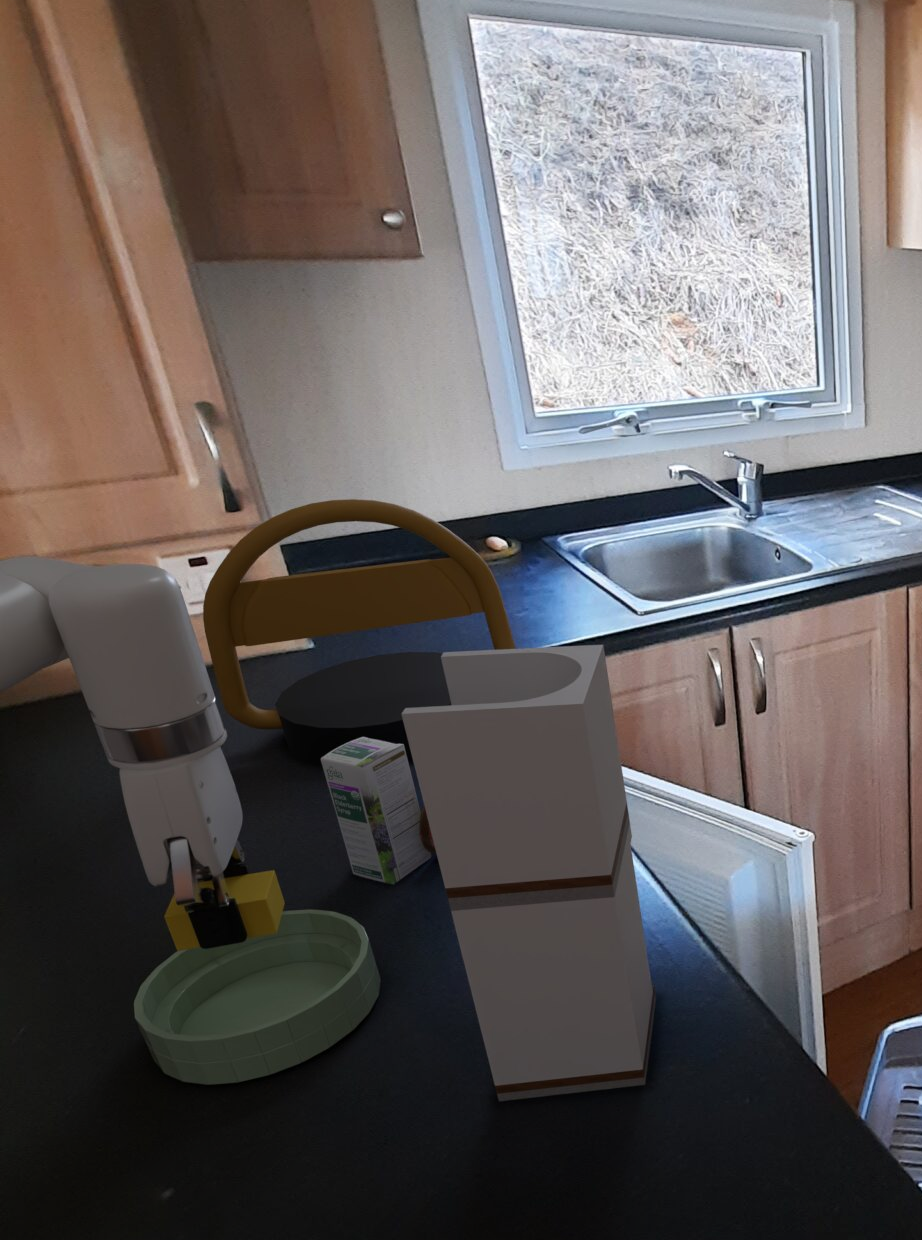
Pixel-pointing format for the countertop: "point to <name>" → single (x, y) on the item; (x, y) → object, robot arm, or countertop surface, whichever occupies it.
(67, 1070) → the countertop surface
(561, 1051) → the striped white pedestal
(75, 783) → the countertop surface
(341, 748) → the syrup box
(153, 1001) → the bowl
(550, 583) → the countertop surface
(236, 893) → the sponge
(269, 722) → the chair
